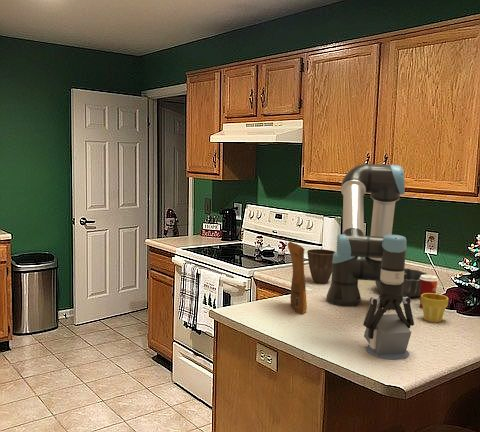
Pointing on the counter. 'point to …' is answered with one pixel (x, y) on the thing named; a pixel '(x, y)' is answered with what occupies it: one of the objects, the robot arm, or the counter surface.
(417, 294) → the bundt pan
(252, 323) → the counter surface
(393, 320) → the grey matte cube
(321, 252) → the plant pot
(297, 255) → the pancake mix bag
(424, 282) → the paper cup
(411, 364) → the counter surface
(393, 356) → the circle
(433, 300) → the plant pot
